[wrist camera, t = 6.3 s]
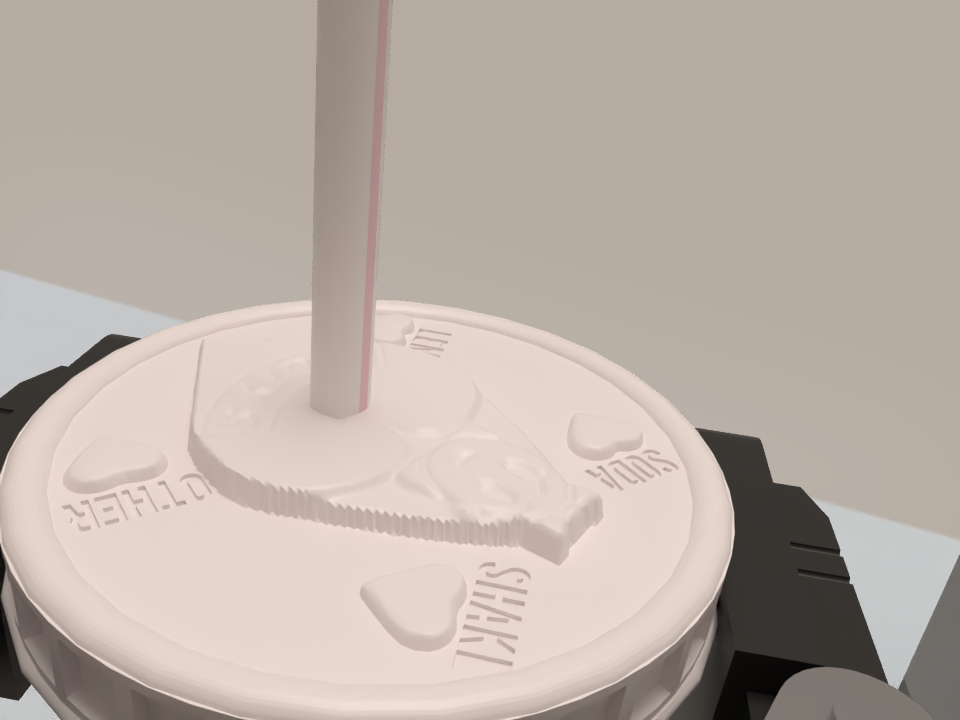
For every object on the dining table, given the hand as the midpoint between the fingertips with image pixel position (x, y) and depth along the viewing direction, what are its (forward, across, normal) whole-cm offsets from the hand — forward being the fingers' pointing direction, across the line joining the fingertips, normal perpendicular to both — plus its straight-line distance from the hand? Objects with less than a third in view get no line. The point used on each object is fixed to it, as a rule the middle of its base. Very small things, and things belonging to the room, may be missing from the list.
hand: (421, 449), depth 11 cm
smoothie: (-2, 0, +8) cm, 9 cm away
